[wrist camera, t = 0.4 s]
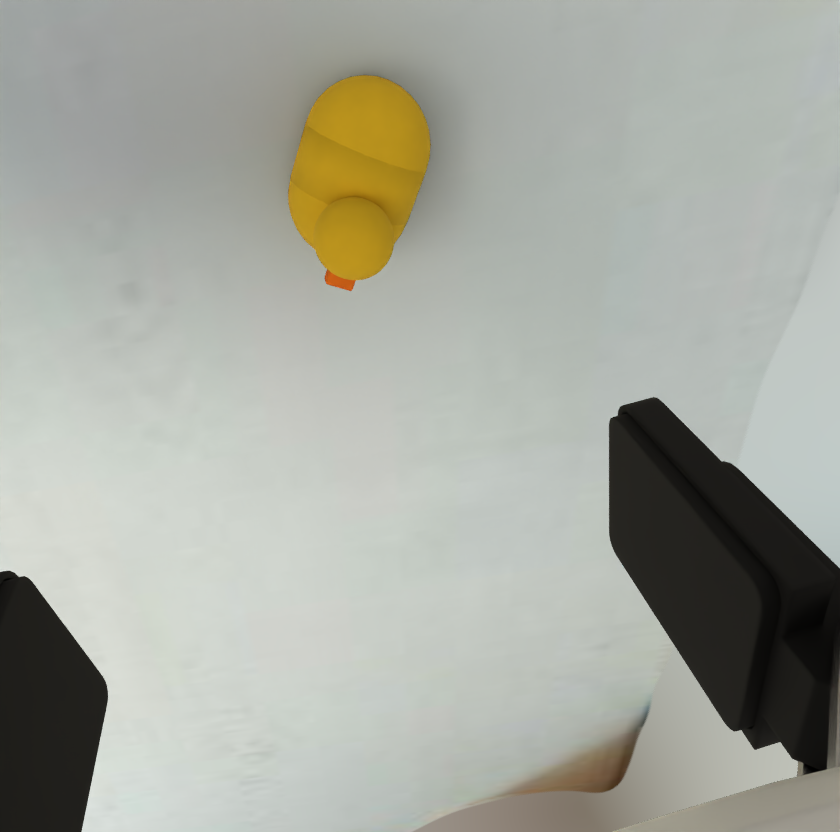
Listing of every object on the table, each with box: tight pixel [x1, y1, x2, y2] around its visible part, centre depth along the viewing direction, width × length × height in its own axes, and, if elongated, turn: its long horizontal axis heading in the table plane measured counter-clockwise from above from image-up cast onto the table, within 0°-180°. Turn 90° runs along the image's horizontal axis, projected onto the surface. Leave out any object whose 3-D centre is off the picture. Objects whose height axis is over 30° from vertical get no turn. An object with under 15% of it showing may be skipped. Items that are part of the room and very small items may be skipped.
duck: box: [288, 75, 431, 291], centre depth 24 cm, size 7×5×6 cm
